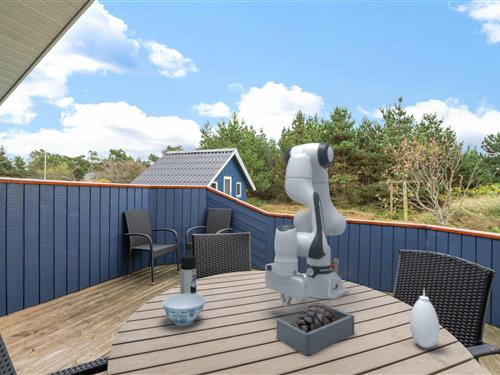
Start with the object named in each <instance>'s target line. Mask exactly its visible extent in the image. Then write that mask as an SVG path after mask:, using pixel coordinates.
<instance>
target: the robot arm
mask: <svg viewBox="0 0 500 375" xmlns="http://www.w3.org/2000/svg"><path fill="white" fill-rule="evenodd" d="M333 159H334V150H333V147H332V145H330V143H328V142H311V143H310V142H309V143H305V144H299V145H292V146H290V147H287V148H286V150H285V151H284V153H283V160H284V164H285V166H286V170H285V180H284V190H285V192H286V195H287V197H288V198H290V199H291V200H293V201H295V202H297V203H299V204H302V205H303V206H305V207H307V208H308V209H309V210H302V211H298V212H296V213H295V215H294V216H293V220H292V221H293V224H285V223H284V224H281V225H278V226H277V227H276V229H275V234H274V243H273V245H274V246H273V247H274V253H275V254H274V260H273V262H272V263H268V264H265V268H264V269H265V273H264V274H265V276H264V282H265V283H264V285H265V287H266V288H267V289H269V290H272V291H274V292H277V293H278V294H279V295H278V296H279V297H280V300H281V305H282V306H284V307H286V308H290V307H291V302H292V301H293V299H295V300H297V301H299V302H305V301H308V300H310V299H309V298H314V299H321V300H322V299H328V300H329V299H330V300H336V299H338V298H339V297H341V296H343V295H344V294H347V293H348V292H349V289H347V288H346V287H345V286H343V285H344V284H343V280H342V278H341V277H340V276H339V275H338V274H337V273H336V272H334V269H337V265H336V264H335V263H331V262H332V261H331V260H332V259H331V254H332V253H331V251H332V250H331V247H330V246H329V244H328V239H327V236H338V235H342V234H343V233H344V232H345V230H346V228H347V220H346V218H345V217H344V215H343V214H342V213H341V212H339V211H338V210H337V208H336V207H335V206H334V204H333V202H332V199H331V195H330V186H329V184H330V183H329V175H328V173H329V172H328V169H327V168H328V167H329V166H330V165H331V164H332V163H333ZM298 257H302V258H306V263H305V271H306V272H305V274H304V273H302V272H299V259H298Z"/></svg>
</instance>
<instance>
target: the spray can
mask: <svg viewBox="0 0 500 375" xmlns="http://www.w3.org/2000/svg"><path fill="white" fill-rule="evenodd" d="M179 270H180V276H179V277H180V290H179V291H180V293H179V294H197V255H192V254H184V255H181V256H180V269H179Z"/></svg>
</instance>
